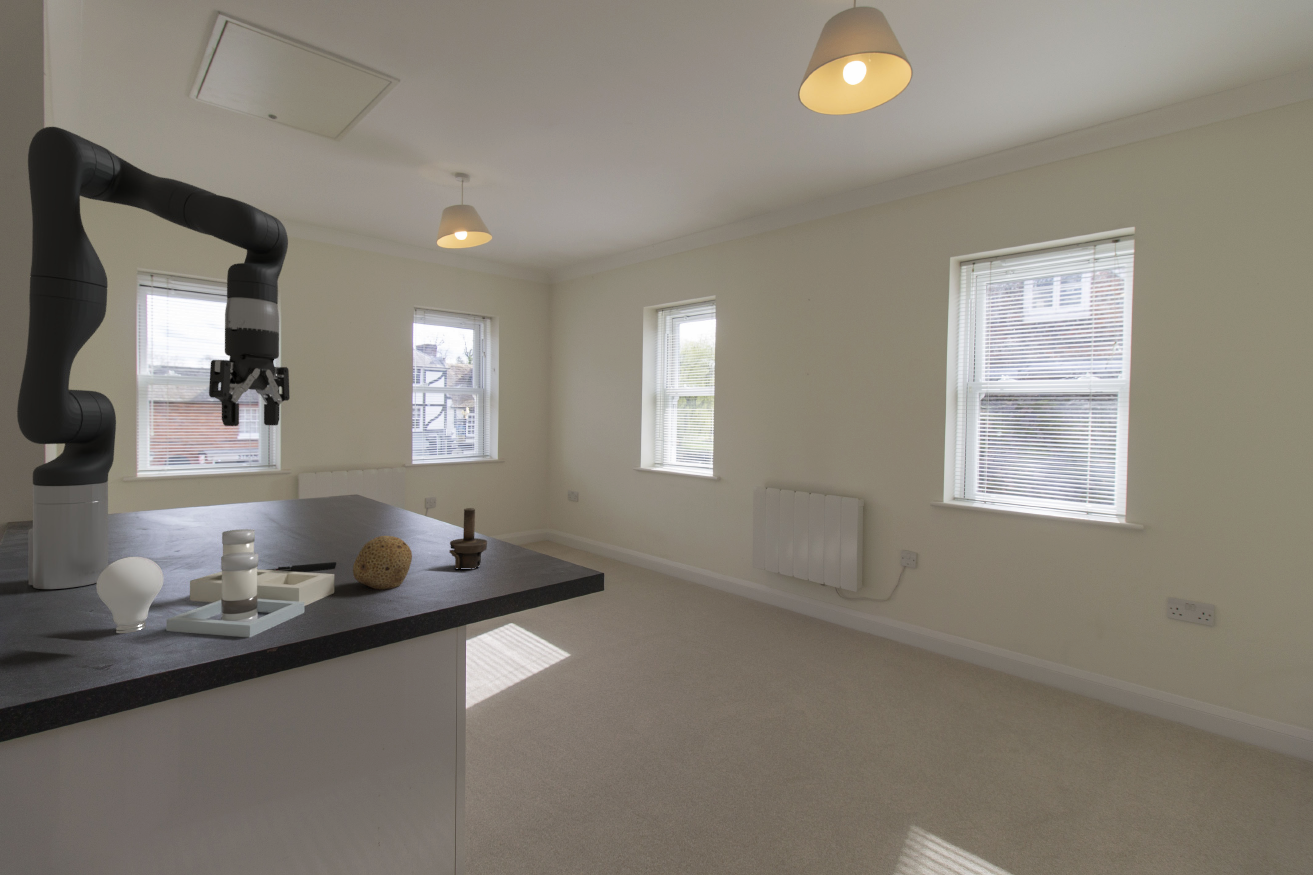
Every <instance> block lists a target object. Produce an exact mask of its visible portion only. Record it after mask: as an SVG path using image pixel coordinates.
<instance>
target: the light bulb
mask: <svg viewBox="0 0 1313 875" xmlns="http://www.w3.org/2000/svg"><path fill="white" fill-rule="evenodd" d="M162 570H163V569H162V568H161V567H160V566H159V564H157V563H156V561H153V560H151V559H150V558H146V557H144V556H143V557H141V556H129V557H124V558H121V559H118V560H116V561H113V562H112V563H110V564H108V566H107V567H106V568H105V569H104V570H103V571H102V573H101V574H100V576H99V578H98V580H97V583H96V586H95V587H96V593H97V595H98V597H99V598H100V600H101V601H102V602H103V604H105V606H106V607H107V608H108V609H109V611H110V612H111V614H112V620H113V623H114V624H115V625H116V626H117V627H115V630H116V631H115V632H116V634H129V633H135V632H138V631H141V630H143V629H145V628H146V623H147V622H146V619H148V616H149V609H150V607H151V605H152V603H153V601H154V600H155V599H156V597H157V596H158V594H159V593H160V591H161V589H162V587H163V585H164V580H165V579H164V573H163V571H162Z"/></svg>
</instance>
